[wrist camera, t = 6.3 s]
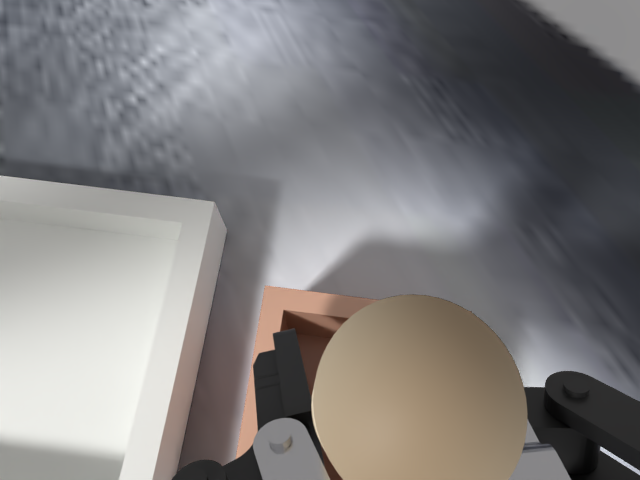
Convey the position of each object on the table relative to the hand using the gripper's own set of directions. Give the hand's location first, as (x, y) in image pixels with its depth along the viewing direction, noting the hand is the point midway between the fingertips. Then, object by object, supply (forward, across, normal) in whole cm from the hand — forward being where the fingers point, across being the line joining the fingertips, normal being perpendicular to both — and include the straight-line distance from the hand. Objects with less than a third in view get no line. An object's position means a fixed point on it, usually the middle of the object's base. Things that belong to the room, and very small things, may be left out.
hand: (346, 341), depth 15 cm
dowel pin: (+3, 0, +6) cm, 7 cm away
